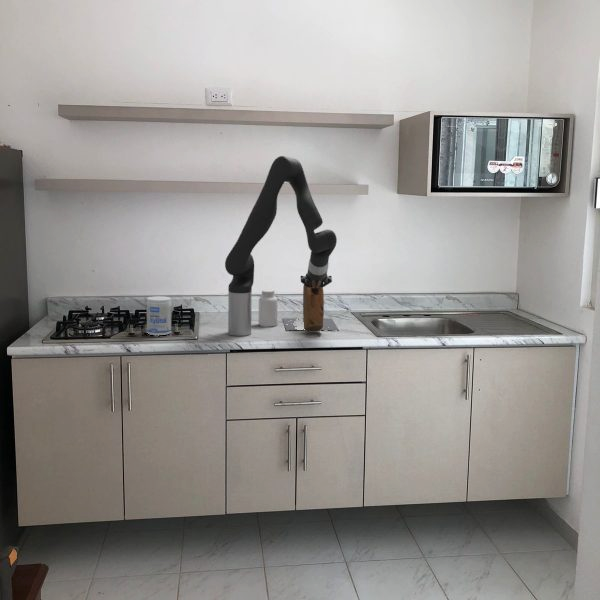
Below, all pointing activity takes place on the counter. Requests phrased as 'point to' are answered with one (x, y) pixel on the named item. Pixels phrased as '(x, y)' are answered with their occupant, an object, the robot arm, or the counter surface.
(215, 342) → the counter surface
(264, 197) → the robot arm
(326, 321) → the mat
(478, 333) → the counter surface
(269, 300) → the pill bottle
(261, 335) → the counter surface
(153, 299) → the supplement tub
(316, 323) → the brown rounded chunk
